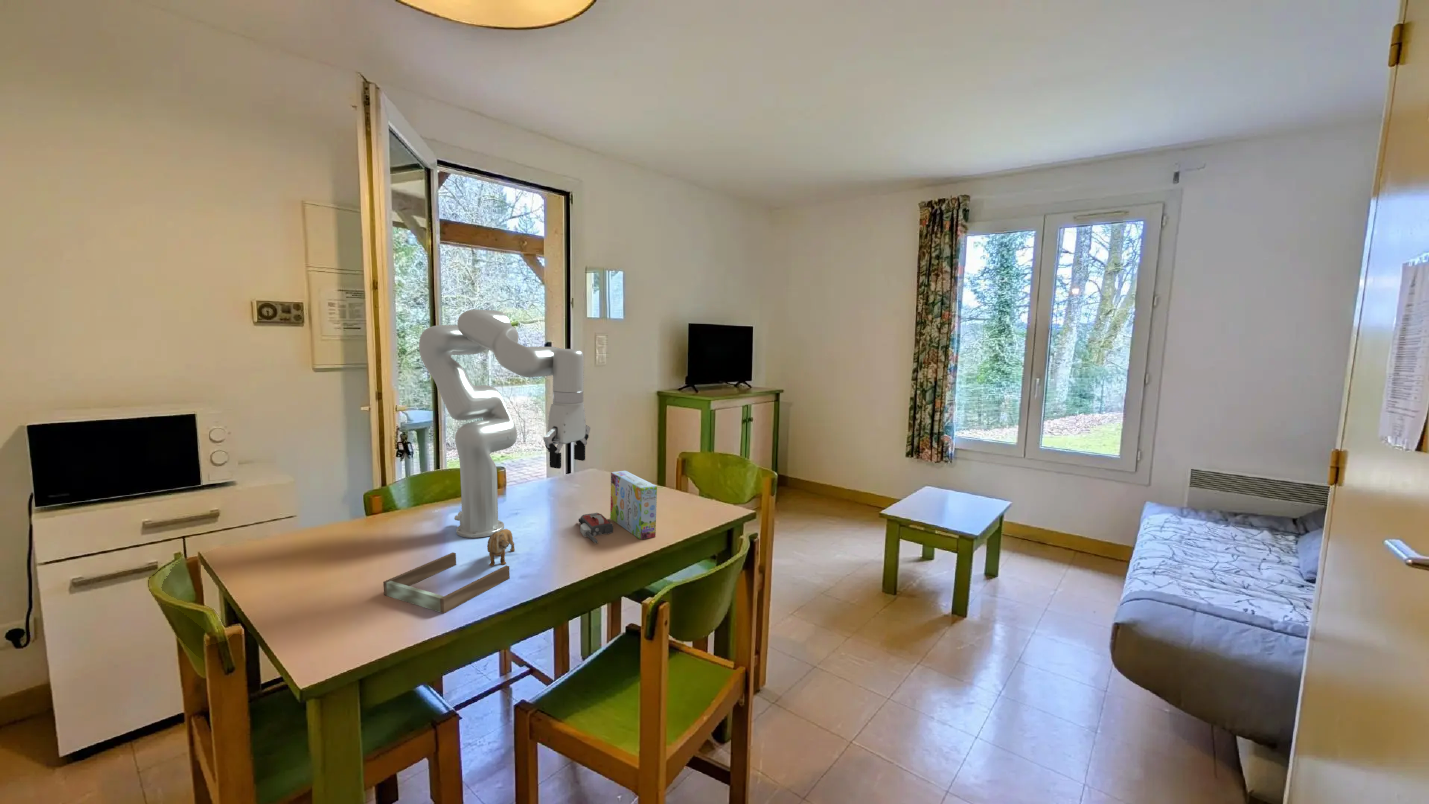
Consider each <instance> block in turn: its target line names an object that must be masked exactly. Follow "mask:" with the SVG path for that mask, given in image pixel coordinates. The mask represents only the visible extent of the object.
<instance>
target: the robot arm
mask: <svg viewBox="0 0 1429 804" xmlns="http://www.w3.org/2000/svg"><path fill="white" fill-rule="evenodd" d="M418 341H419V342H418V349H419V350H418V351H419V356H420V358H421V361H422V363H423V365H424V367H425V368H426V370H427V371H428V373H429V374H430V376H431V378H432V379H433V381H434V383H435V384H436V388H437V390H438V392H439V394H440V397H441V399H442V401H443V404H444V405H445V408H446V410H447V412H448V414H449V416H450V417H451V418H452V419H454V420H455V421H469V420H471V422H470V421H469V422H467V423H465V424H463V425H462V426H460V427H459V428H458V429H457V431H456V432H455V436H454V441H455V447H456V448H455V449H456V451H457V455H458V460H459V472H460V495H461V497H460V498H461V511H459V512H458V513H457V515H454V518H453V519H454V520H455V521H459V525H458V526H457V527H456V535H458V536H460V537H463V538H468V539H469V538H470V539H472V538H474V539H475V538H477V539H478V538H484V537H485V538H486V537H490V536H491V535H492V534H493V533H496V532H500V531H501V530H504V529H505V523H504V522H503V521H501V520H499V505H498V504H499V503H498V502H499V498H498V497H499V496H498V468H497V466H496V463H495V461H494V460H493V458H492V456H491V453H495V452H500V451H504V450H507V449H509V448H511V447H513V446H514V445H515V444H516V441H517V439H518V432H517V427H516V424H515V422H514V420H513V418H512V415H511V413H510V410H509V408H508V406H507V404H506V401H505V399H504V398H503V396H502V394H501V393H500V392H499V391H498V390H497V389H496V388H495V386H492V385H487V384H485V385H484V384H481V385H473V383H472V382H471V380H470V379H469V376H468V374H467V371H466V370H465V369H464V368H463V367H462V365H461V364H460V363H459V362H457V361H456V360H455V359H454V358H453V357H452V356H464V355H465V356H467V355H471V356H472V355H477V354H480V353H482V352H485V351H486V350H488V351H490V352H492V353H493V354H494V355H493V356H494V357H495V359H496V361H497V363H498V364H499V365H500V366H501V367H503V368H504V369H507V370H508V371H510V372H511V373H514V374H516V375H517V376H519V377H520V376H521V377H523V378H535V377H536V378H537V377H552V403H551V404H550V408H549V413H548V414H549V415H548V422H547V433H545V435H543V437H542V440H543V442H544V445H545V448H546V449H547V452H548V453H549V468H552V469H561V468H562V452H561V449H562V447H563V445H566V444H570V443H575V444H573V460H575V461H582V462H584V461H586V445H587V444H588V442H587V441H588V439H589V438H590V437H589V436H590V435H589V434H590V431H591V426H590V425H587V424H586V410H585V404H584V381H585V380H584V378H585V377H584V371H585V370H584V368H585V366H584V364H585V363H584V362H585V361H584V360H585V356H584V352H583V351H582V350H580V349H575V348H559V347H557V346H525V345H523V344H520V343H519V332H518V331H517V329H516V328H515V327H514V326H513V325H512V321H511V320H510V318H509V317H508V315H507V314H506V313H504V312H502V311H499V310H493V309H491V310H490V309H476V308H475V309H470V310H469V309H468V310H466V311H464V312H463V313H461V314H460V315H459V317H458V318H457V324H454V325H453V324H439V325H438V324H437V325H433V326H430V327H427V328H425V329H424V330H423V331H422V333H421V335H420V337H419V340H418ZM476 419H482V420H476ZM472 420H475V421H472Z"/></svg>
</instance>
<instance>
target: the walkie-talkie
mask: <svg viewBox="0 0 1429 804" xmlns="http://www.w3.org/2000/svg"><path fill="white" fill-rule="evenodd" d="M578 522H579V524H580V528H579V531H580V532H579V533H581V534H582V536H583V537H585V538H586V537H588V539H590V541H592V542H593V543H594V544H598V540H597V538H596V536H600V535H609V534H611V533H614V525H613V522H611V521H610V520H609V519H607V518H606V517H605V516H604V515H603V514H602V513H599V512H592V513H587V514H582V515H581V516H580V518H578Z"/></svg>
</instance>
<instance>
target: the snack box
mask: <svg viewBox="0 0 1429 804" xmlns="http://www.w3.org/2000/svg"><path fill="white" fill-rule="evenodd" d="M657 496H658V486H657V485H656V484H653V483H652V482H650V481H647V480H646V479H643V478H641V477H639V476H637V475H635V474H633V473H631V472H629V471H628V470H619V471H613V472H612V471H611V472H610V515H609V516H610V517H609V518H610V520H612V521H613V522H614V523H616V524H618V525H619V526H621V527H622V528H623V529H624V530H626V531H627V532H629V533H630V534H632V535H633V536H634V537H636V538H637V539H638V540H646V539H652V538H656V533H657V531H656V529H657V503H658V502H657V499H658V497H657Z"/></svg>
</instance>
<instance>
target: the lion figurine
mask: <svg viewBox="0 0 1429 804" xmlns="http://www.w3.org/2000/svg"><path fill="white" fill-rule="evenodd" d="M509 545H510V550H509V552H515V551H516V549H515V542H514V539H513V533H512V531H511V530H509V529H508V528H504V529H503V530H501V531H500V532H496V533H493V534H492V535H491V536H489V538H488V541H487V552H488V554H489V559H490V562H489V563H488V565H489V567H493V566H495V565H496V562H495V557H499V556H500V561H499V563H500V565H502V566H503V565H504V566H505V565H506V564H507V562H506V558H505V556H506V549H507V548H509Z"/></svg>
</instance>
